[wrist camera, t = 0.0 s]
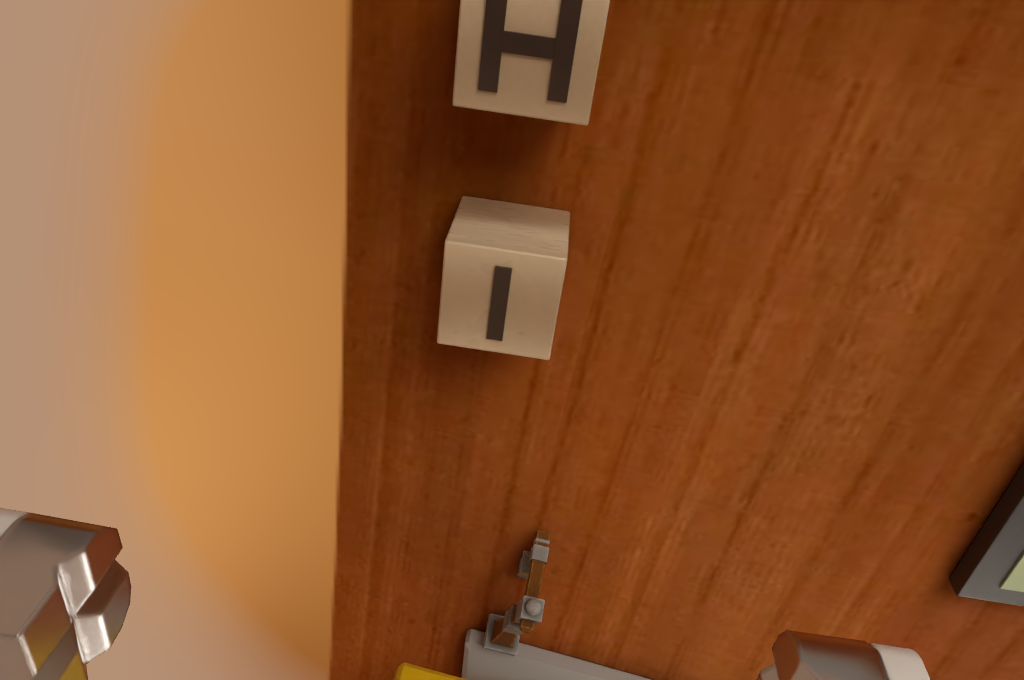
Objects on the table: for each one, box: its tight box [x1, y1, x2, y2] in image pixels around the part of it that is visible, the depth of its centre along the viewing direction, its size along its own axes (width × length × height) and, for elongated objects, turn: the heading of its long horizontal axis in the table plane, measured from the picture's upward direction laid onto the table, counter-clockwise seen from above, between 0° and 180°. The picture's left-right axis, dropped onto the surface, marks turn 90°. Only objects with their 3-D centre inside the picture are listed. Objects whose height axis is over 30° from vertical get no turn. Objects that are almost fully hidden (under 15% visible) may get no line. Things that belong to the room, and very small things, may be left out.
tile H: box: [452, 0, 610, 125], centre depth 23 cm, size 4×4×4 cm
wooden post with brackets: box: [482, 530, 550, 657], centre depth 37 cm, size 2×8×4 cm, turn 165°
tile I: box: [437, 196, 570, 360], centre depth 27 cm, size 4×4×4 cm
